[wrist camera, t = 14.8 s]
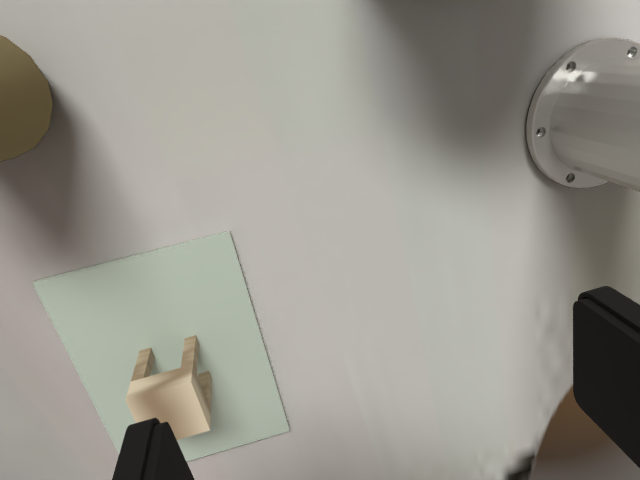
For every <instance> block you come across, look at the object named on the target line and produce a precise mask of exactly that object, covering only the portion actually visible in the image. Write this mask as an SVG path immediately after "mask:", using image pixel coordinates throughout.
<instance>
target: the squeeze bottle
mask: <svg viewBox="0 0 640 480" xmlns="http://www.w3.org/2000/svg"><path fill="white" fill-rule="evenodd" d="M52 108H53V103H52V97H51V93H50V89H49V84H48V81H47V80H46V78H45V77H44V75H43V74H42V72H41V71H40V69H39V68H38V66H37V65H36V64H35V62H34V61H33V59H32V58H31V56H30V55H28V54H27V53H26V52H24V51H23V50H22V49H20V48H19V47H18V46H16V45H15V44H14V43H12V42H11V41H10V40H9V39H7V38H6V37H3V36H0V161H4V160H8V159H12V158H15V157H17V156H19V155H21V154H23V153H25V152H27V151H29V150H31V149H33V148H35V147H36V145H37V144H38V143H39V141H40V140H41V139H42V137H43V136H44V135H45V133H46V132H47V131H48V129H49V125H50V119H51V113H52Z"/></svg>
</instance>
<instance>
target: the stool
mask: <svg viewBox="0 0 640 480" xmlns="http://www.w3.org/2000/svg"><path fill="white" fill-rule="evenodd" d="M198 354H199V342H198V339H197V336H196V335H195V336H191V337H187V338H185V341H184V347H183V354H182V361H181V368H178V369H174V370H170V371H167V372H163V373H160V374H156V375H152V376H150V375H151V371H152V366H153V362H154V358H155V356H154V354H153V351H152V349H151V348H147V349H144V350H140V351H139V354H138V358H137V361H136V365H135V368H134V372H133V375H132V378H131V382H130V385H129V389H128V392H127V396H126V399H125V401H126V403H127V405H128V407H129V409H130V411H131V414H132V416H133V418H134V420H135V422H136V423H138V422H141V421H145V420H148V419H152V418H157V419H158V420H159V421H160V423H163V422H168V423H169V425H170V426H171V429H172V431H173V433H174V435H175V438H176V440H179V439H182V438H186V437H189V436H193V435H196V434H199V433H203V432H206V431H210V421H211V398H212V377H211V375H210V372H209V371H207V372H204V373H200V374H198V376H197V365H198Z"/></svg>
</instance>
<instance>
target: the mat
mask: <svg viewBox="0 0 640 480" xmlns="http://www.w3.org/2000/svg"><path fill="white" fill-rule="evenodd" d="M33 286H34V288H35V290H36V292H37V294H38V296H39V297H40V299H41V301H42V303H43V305H44V307H45V309H46V311H47V313H48V315H49V317H50V319H51V321H52V323H53V325H54V327H55V329H56V331H57V333H58V335H59V337H60V339H61V341H62V343H63V345H64V347H65V349H66V351H67V353H68V355H69V357H70V359H71V361H72V363H73V365H74V367H75V369H76V371H77V373H78V375H79V377H80V379H81V381H82V383H83V385H84V387H85V389H86V391H87V392H88V394H89V396H90V398H91V400H92V402H93V404H94V406H95V408H96V410H97V412H98V414H99V416H100V418H101V420H102V422H103V424H104V426H105V428H106V430H107V432H108V434H109V436H110V438H111V440H112V442H113V444H114V446H115V448H116V450H117V452H118V454H120V450H121V446H122V443H123V439H124V435H125V432H126V429H127V427H128V426H129V425H131V424H135V423H136V422H135V420H134V418H133V416H132V414H131V411H130V409H129V407H128V405H127V403H126V401H125V399H126V396H127V392H128V389H129V385H130V382H131V378H132V375H133V372H134V368H135V365H136V361H137V358H138V354H139V351H140V350H144V349H147V348H151V349H152V351H153V354H154V356H155V358H154V362H153V366H152V371H151V375H150V376H152V375H156V374H160V373H163V372H167V371H170V370H174V369H178V368H181V361H182V354H183V347H184V341H185V338H187V337H191V336H195V335H196V336H197V339H198V342H199V354H198V365H197V376H198V374H200V373H204V372H207V371H209V372H210V375H211V377H212V398H211V421H210V431H206V432H203V433H199V434H196V435H193V436H189V437H186V438H182V439H179V440H177V442H178V444H179V446H180V449H181V451H182V453H183V455H184V458H185V460H186V462H188V461H191V460H194V459H198V458H201V457H204V456H208V455H211V454H214V453H218V452H221V451H224V450H228V449H231V448H234V447H238V446H241V445H244V444H248V443H251V442H254V441H258V440H261V439H265V438H268V437H271V436H275V435H278V434H281V433H285V432H288V431H290V429H289V424H288V421H287V418H286V414H285V411H284V408H283V405H282V401H281V398H280V395H279V391H278V388H277V385H276V381H275V378H274V375H273V371H272V368H271V365H270V362H269V358H268V355H267V352H266V348H265V345H264V342H263V338H262V335H261V332H260V328H259V325H258V322H257V319H256V315H255V312H254V309H253V305H252V302H251V299H250V295H249V292H248V289H247V285H246V282H245V279H244V276H243V272H242V269H241V266H240V262H239V259H238V256H237V252H236V249H235V246H234V242H233V239H232V236H231V233H230V231H226V232H223V233H219V234H215V235H211V236H207V237H203V238H199V239H195V240H191V241H188V242H184V243H180V244H176V245H172V246H168V247H164V248H160V249H156V250H153V251H149V252H145V253H141V254H137V255H133V256H129V257H125V258H121V259H118V260H114V261H110V262H106V263H102V264H98V265H94V266H90V267H86V268H82V269H79V270H75V271H71V272H67V273H63V274H59V275H55V276H51V277H47V278H44V279H40V280H36V281H35V282H34V283H33Z"/></svg>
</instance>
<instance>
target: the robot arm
mask: <svg viewBox="0 0 640 480" xmlns="http://www.w3.org/2000/svg"><path fill="white" fill-rule="evenodd" d="M527 142H528V148H529V151H530V154H531V156H532V159H533V161H534V163H535V164H536V166H537V167H538V168H539V170H540V171H541V172H542V173H543V174H544V175H545V176H547V177H548V178H549V179H551V180H553V181H555V182H557V183H559V184H562V185H564V186H567V187H573V188H592V187H596V186H599V185H603V184H605V183H608V182H612V183H615V184H618V185H621V186H624V187H627V188H630V189H633V190H636V191H639V192H640V44H639V43H636V42H633V41H631V40H628V39H620V38H605V39H598V40H594V41H589V42H587V43H584V44H582V45H580V46H578V47H576V48H574V49H573V50H571V51H570V52H568V53H567V54H565V55H564V56H562V57H561V58H560V59H559V60H558V61H557V62H556V63H555V64H554V65H553V66H552V67H551V68H550V70H549V71H548V72H547V74H546V75H545V76H544V78H543V79H542V81H541V83H540V84H539V86H538V88H537V90H536V92H535V94H534V97H533V99H532V102H531V105H530V108H529V113H528V118H527ZM573 392H574V397H575V399H576V402H577V403H578V405H579V406H580V408H581V409H582V410H583V411H584V412H585V413H586V414H587V415H588V416H589V417H590V418H591V419H592V420H593V421H594V422H595V423H596V424H597V425H598V426H599V427H600V428H601V429H602V430H603V431H604V432H605V433H606V434H607V435H608V436H609V437H610V438H611V439H612V440H613V441H614V442H615V443H616V444H617V445H618V446H619V447H620V448H621V449H622V450H623V451H624V453H626V455H627V456H628V457H629V458H631V460H632V461H633V462H634V463H635V464H636V465H637V466H638V467H639V468H640V305H639V304H637V303H636V302H634V301H632V300H631V299H629V298H627V297H626V296H624V295H623V294H621V293H619V292H618V291H616V290H614V289H613V288H611V287H608V286H603V287H600V288H597V289H593V290H590V291H586V292H583V293H581V294H580V295H579V297H578V301H576V302H575V303H574V305H573ZM112 480H194V478H193V475H192V473H191V471H190V469H189V467H188V464H187V462H186V460H185V458H184V455H183V453H182V451H181V449H180V446H179V444H178V442H177V440H176V438H175V435H174V433H173V431H172V429H171V426H170V425H169V423H168V422H163V423H160V421H159V420H158V419H157V418H152V419H148V420H145V421H141V422H138V423H135V424H131V425H129V426H128V427H127V429H126V432H125V435H124V439H123V443H122V446H121V450H120V454H119V457H118V461H117V464H116V468H115V472H114V475H113V479H112Z"/></svg>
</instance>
